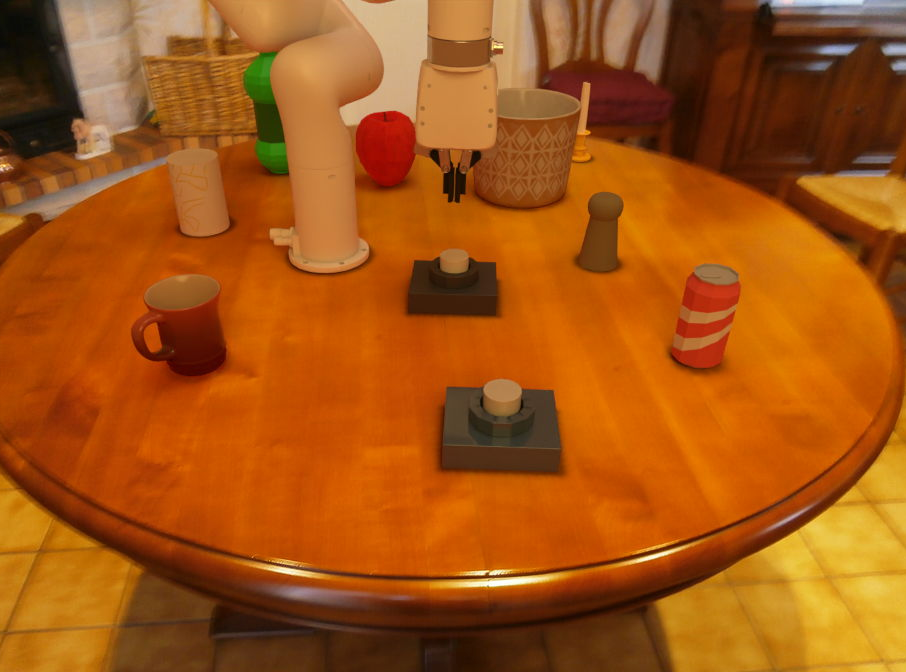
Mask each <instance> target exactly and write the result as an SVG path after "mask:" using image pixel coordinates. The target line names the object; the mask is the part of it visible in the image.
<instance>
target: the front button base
mask: <svg viewBox="0 0 906 672" xmlns="http://www.w3.org/2000/svg"><path fill="white" fill-rule="evenodd" d="M484 386H485V385H482V386H478V387H476V386H472V387H471V386H446V389H445V404H444V417H443V418H444V419H443V432H442V453H441V454H442V455H441V456H442V460H441V462H442V464H441V465H442V466H441V467H442V468H443V469H465V470H466V469H467V470H493V471H495V470H496V471H517V472H519V471H520V472H545V473H547V472H549V473H559V471H560V465H561V464H560V463H561V457H562V456H561V455H562V442H561V434H560V425H559V420H558V412H557V403H556V395H555V390H554V389H533V388H522V387H521V389H522V397H521V408H520V410H519V412H518V413H516V414H514V415H511V416H495V415H492V414H490V413H487V412H486V411H485V410H484V408H483V388H484Z"/></svg>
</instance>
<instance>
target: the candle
mask: <svg viewBox="0 0 906 672" xmlns="http://www.w3.org/2000/svg"><path fill="white" fill-rule="evenodd" d="M581 87H582V88H581V95H580V102H581V104H582V108H581V114H580V119H579V124H578V130H577V135H576V141H575V146H574V151H573V157H572V162H573V163H574V162H575V163H586V162H588V161H590V160H591V158H592V155H591V154H590V153H588V152H585V151H586V150H587V149H588V145H586V141H587V139H586V137H587V136H589V135H590V134H591V131H590V130H588V129H587V121H588V114H589V113H588V111H589V103H590V96H591V95H590V94H591V83H590V82H587V81H583V83H582V86H581Z"/></svg>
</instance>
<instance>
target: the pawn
mask: <svg viewBox="0 0 906 672" xmlns="http://www.w3.org/2000/svg"><path fill="white" fill-rule="evenodd" d="M624 207H625V206H624V201H623V198H622V197H621V196H620V194H617V193H615V192H611V191H599V192H595V193H593V194H592V195H591V196H590V198H589V200H588V202H587V212H588V214H589V218H588V222H587V226H586V229H585V233H584V237H583V240H582V244H581V247H580V252H579V255H578V259H577V263H578V265H579V266H580V267H581V268H584V269H586V270H588V271H592V272H598V273H599V272H602V273H604V272H609V271H613V270H614V269H616V268H617V266H618V244H619V243H618V242H619V231H618V230H619V218H620V217H621V215H622V214H623V211H624Z"/></svg>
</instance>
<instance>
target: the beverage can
mask: <svg viewBox="0 0 906 672" xmlns="http://www.w3.org/2000/svg"><path fill="white" fill-rule="evenodd" d="M693 269H694V270H693V271H692V273H691V274H690V275H689V276H688V277H687V278H686V283H685V286H684V287H685V288H684V292H683V296H682V300H681V304H680V310H679V313H678V318H677V323H676V326H675V332H674V334H673V335H674V336H673V340H672V344H671V349H670V350H671V351H670V354H671V356H673V357H674V358H675V359H676V360H677V361H678V362H679V363H681V364H682V365H684V366H687V367H689V368H692V369H708V368H713V367H715V366H717V365H719V364H722V361H723V357H724V355H725V350H726V347H727V343H728V340H729V336H730V332H731V330H732V329H731V328H732V326H733V322H734V318H735V314H736V311H737V308H738V304H739V300H740V296H741V292H742V291H741V290H742V289H741V288H742V286H741V283H740V282H741V281H740V273H739V272H738V271H737V270H735V269H734V268H732V267H731V266H728V265H723V264H720V263H701V264H699V265H696V266H694V268H693Z"/></svg>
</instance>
